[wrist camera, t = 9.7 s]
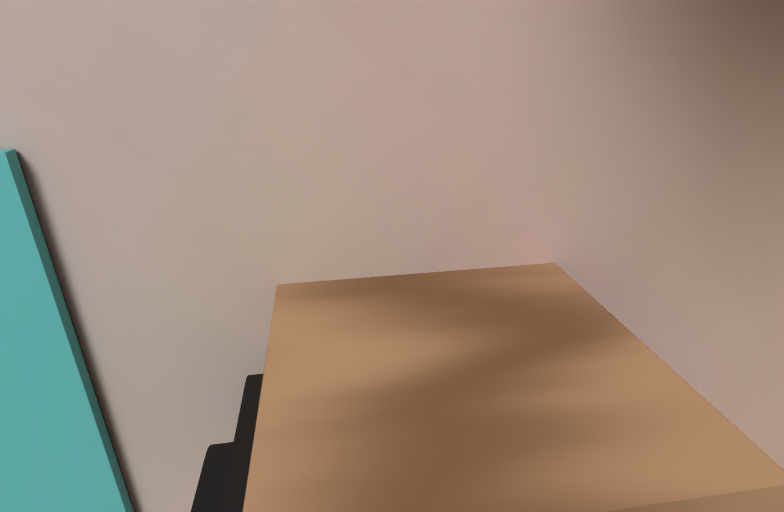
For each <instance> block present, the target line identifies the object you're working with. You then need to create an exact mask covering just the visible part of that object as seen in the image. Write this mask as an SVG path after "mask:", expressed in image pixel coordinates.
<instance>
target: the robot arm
mask: <svg viewBox="0 0 784 512" xmlns="http://www.w3.org/2000/svg"><path fill="white" fill-rule="evenodd" d="M263 375H264V374H256V375H248V376H247V378H246V383H245V388H244V393H243V398H242V403H241V408H240V413H239V418H238V423H237V428H236V433H235V438H234V442H230V443H221V444H213V445H210V446H209V447H208V450H207V452H206V456H205V459H204V463H203V467H202V471H201V475H200V478H199V482H198V486H197V490H196V494H195V498H194V501H193V505H192V509H191V512H243V507H244V500H245V494H246V487H247V481H248V474H249V467H250V461H251V454H252V447H253V441H254V434H255V428H256V421H257V414H258V408H259V401H260V395H261V388H262V381H263Z"/></svg>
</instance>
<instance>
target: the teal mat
mask: <svg viewBox="0 0 784 512" xmlns="http://www.w3.org/2000/svg"><path fill="white" fill-rule="evenodd" d="M0 512H134V511H133V508H132V505H131V502H130V499H129V496H128V492H127V489H126V486H125V483H124V480H123V477H122V474H121V471H120V468H119V465H118V462H117V459H116V456H115V453H114V450H113V447H112V444H111V441H110V438H109V435H108V431H107V428H106V425H105V422H104V419H103V416H102V413H101V410H100V407H99V404H98V401H97V398H96V395H95V392H94V389H93V386H92V383H91V380H90V377H89V373H88V370H87V367H86V364H85V361H84V358H83V355H82V352H81V349H80V346H79V343H78V340H77V337H76V334H75V331H74V328H73V325H72V322H71V319H70V315H69V312H68V309H67V306H66V303H65V300H64V297H63V294H62V291H61V288H60V285H59V282H58V279H57V276H56V273H55V270H54V267H53V264H52V261H51V257H50V254H49V251H48V248H47V245H46V242H45V239H44V236H43V233H42V230H41V227H40V224H39V221H38V218H37V215H36V212H35V209H34V206H33V203H32V200H31V196H30V193H29V190H28V187H27V184H26V181H25V178H24V175H23V172H22V169H21V166H20V163H19V160H18V157H17V154H16V151H15V149H7V150H0Z"/></svg>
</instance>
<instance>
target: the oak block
mask: <svg viewBox="0 0 784 512" xmlns="http://www.w3.org/2000/svg"><path fill="white" fill-rule="evenodd" d="M243 512H784V470H783V469H782V468H781V467H780V466H779V465H778V464H777V463H776V462H774V461H773V460H772V459H771V458H770V457H769V456H768V455H767V454H766V453H764V452H763V451H762V450H761V449H760V448H759V447H758V446H757V445H756V444H754V443H753V442H752V441H751V440H750V439H749V438H748V437H747V436H746V435H745V434H743V433H742V432H741V431H740V430H739V429H738V428H737V427H736V426H735V425H733V424H732V423H731V422H730V421H729V420H728V419H727V418H726V417H725V416H723V415H722V414H721V413H720V412H719V411H718V410H717V409H716V408H715V407H713V406H712V405H711V404H710V403H709V402H708V401H707V400H706V399H705V398H704V397H702V396H701V395H700V394H699V393H698V392H697V391H696V390H695V389H694V388H692V387H691V386H690V385H689V384H688V383H687V382H686V381H685V380H684V379H682V378H681V377H680V376H679V375H678V374H677V373H676V372H675V371H674V370H672V369H671V368H670V367H669V366H668V365H667V364H666V363H665V362H664V361H663V360H661V359H660V358H659V357H658V356H657V355H656V354H655V353H654V352H653V351H651V350H650V349H649V348H648V347H647V346H646V345H645V344H644V343H643V342H641V341H640V340H639V339H638V338H637V337H636V336H635V335H634V334H633V333H631V332H630V331H629V330H628V329H627V328H626V327H625V326H624V325H623V324H622V323H620V322H619V321H618V320H617V319H616V318H615V317H614V316H613V315H612V314H610V313H609V312H608V311H607V310H606V309H605V308H604V307H603V306H602V305H600V304H599V303H598V302H597V301H596V300H595V299H594V298H593V297H592V296H591V295H589V294H588V293H587V292H586V291H585V290H584V289H583V288H582V287H581V286H579V285H578V284H577V283H576V282H575V281H574V280H573V279H572V278H571V277H569V276H568V275H567V274H566V273H565V272H564V271H563V270H562V269H561V268H559V267H558V266H557V265H556V264H555V263H547V264H535V265H522V266H509V267H497V268H484V269H471V270H458V271H446V272H433V273H420V274H408V275H395V276H382V277H370V278H357V279H344V280H332V281H319V282H306V283H294V284H281V285H277V289H276V295H275V302H274V309H273V315H272V322H271V328H270V335H269V342H268V348H267V355H266V361H265V368H264V375H263V381H262V388H261V395H260V401H259V408H258V414H257V421H256V428H255V434H254V441H253V447H252V454H251V461H250V467H249V474H248V481H247V487H246V494H245V500H244V507H243Z"/></svg>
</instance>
